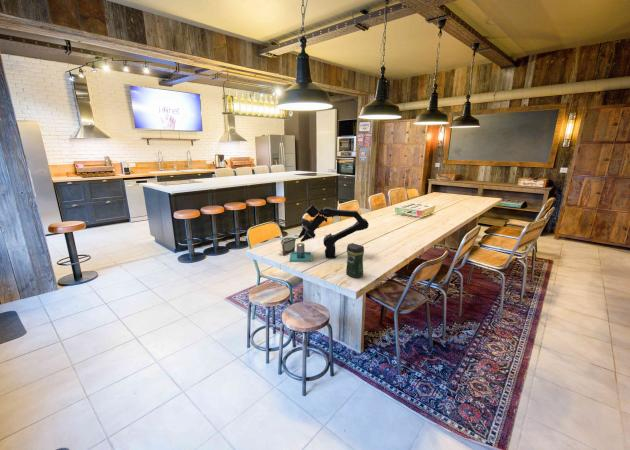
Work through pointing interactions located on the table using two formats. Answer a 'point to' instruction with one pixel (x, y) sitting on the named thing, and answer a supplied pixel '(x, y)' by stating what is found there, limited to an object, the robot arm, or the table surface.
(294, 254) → the teal tray
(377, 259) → the table surface
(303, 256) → the grey tin
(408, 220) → the table surface
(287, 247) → the food container
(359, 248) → the coffee jar
